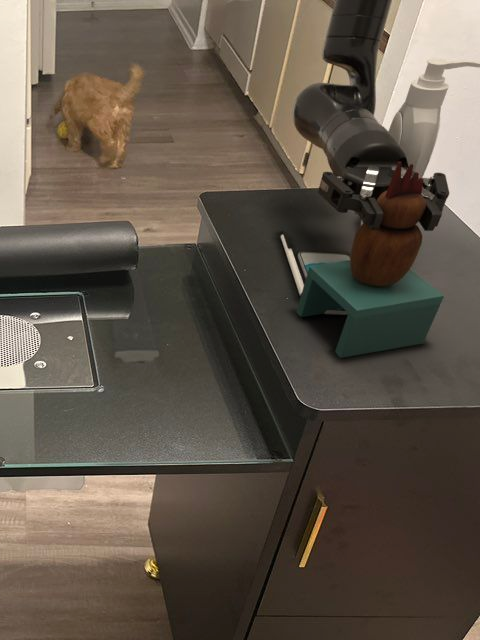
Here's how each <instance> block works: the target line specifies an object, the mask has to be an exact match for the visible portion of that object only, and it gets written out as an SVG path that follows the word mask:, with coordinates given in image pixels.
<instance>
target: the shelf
mask: <svg viewBox="0 0 480 640" xmlns="http://www.w3.org/2000/svg"><path fill="white" fill-rule="evenodd" d="M303 284H304V287H303V291H302V294H301V297H300V298H299V301H298V305H297V308H296V314H297V315H298V316H299V318H305V317H306V318H307V317H310V316H317V315H325V314H324V313H325V312H326V311H327V310H331V309H338V308H344V309H345V310H346V311H347V312H348V313H349V314H348V315H346V319H345V322H344V325H343V328H342V331H341V334H340V336H339V340H338V343H337V345H336V349H335V351H334V353H335V354H336V355H337V356H338V357H339V358H340V359H343V358H349V357H354V356H360V355H366V354H371V353H378V352H383V351H388V350H394V349H399V348H405V347H411V346H417V345H422V344H424V343H425V340H426V338H427V336H428V334H429V331H430V329H431V327H432V325H433V322H434V321H435V319H436V315H437V314H438V311H439V309H440V306H441V304H442V302H443V301H444V297H445V295H444V294H443V293H442V292H440V291H439V290H438V289H437V288H435V287H434V286H433V285H431V284H430V283H429V282H427V281H426V280H425V279H424V278H423V277H421V276H419V274H417V273H416V272H414V271H413V270H412V268H410V269H409V271H408V272H407V273H406V274H405V276H404V277H403V278H402V279H400V280H399V281H398V282H396V283H395V284H393V285H390V286H384V287H376V286H370V285H366V284H363V283H361V282H359V281H357V280H356V279H355V278H354V277H353V275H352V271H351V266H350V260H346V261H340V262H334V263H328V264H321V265H315V266H310V267H309V270H308V275H307V277H306V279H305V280H304V283H303Z"/></svg>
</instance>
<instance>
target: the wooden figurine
mask: <svg viewBox="0 0 480 640" xmlns="http://www.w3.org/2000/svg"><path fill="white" fill-rule="evenodd" d="M401 166H402V162H398V163H397V166H396V169H395V171H394V174H393V177H392V179H391V182H390V185H389V187H388V190H387V191H385V192H383V193H382V194H381V195H380V196H379V198H378V199H377V202H378V204H379V206H380V207H381V209H382V210H383V218H382V221H381V224H380V227H379V229H378V230H370V228H369V226H368V225H365V224H364V223H363V224H362V225H361V224H360V226H359V228H358V229H357V231H356V233H355V235H354V238H353V241H352V244H351V249H350V266H351V271H352V275H353V277H354V278H355V279H356V280H357V281H359V282H361V283H363V284H366V285H370V286H376V287H384V286H390V285H393V284H395V283H396V282H398V281H399V280H400V279H402V278H403V277H404V276H405V274H406V273H407V272H408V271H409V269H412V266H413V265H414V263H415V260H416V259H417V256H418V254H419V251H420V249H421V246H422V244H423V243H422V242H423V233H422V231H421V229H420V227H419V225H417V224H418V223H419V220H420V219H421V217H422V215H423V214H424V211H425V208H426V201H425V199H424V198H423V196H422V195H421V194H422V188H423V181H424V179H422V178H423V177H422V178H419V179H418V176H419V173H417V172H415V173H414V175H413V177H412V178H411V176H412V171H413V166H414V165H413V164H410V166H409V168H408V169H407V171H406V173H405V175H404V176H403V178H402V180H401Z"/></svg>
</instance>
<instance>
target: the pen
mask: <svg viewBox="0 0 480 640" xmlns="http://www.w3.org/2000/svg"><path fill="white" fill-rule="evenodd" d="M279 236H280V240H281V242H282V245H283V248H284V252H285V255H286V258H287V262H288V264H289V267H290V270H291V274H292V276H293V279H294V282H295V285H296V288H297V292H298V294H299V297H300V298H301V294H302V291H303V287H304V284H305V283H304V281H303V278H302V274H301V273H300V272H301V271H300V268H299V266H298V263H297V261H296V257H295V255H294V252H293V249H292V245H291V243H290V240H289V237H288V234H287V232H285V231H284V230H281V231H280V235H279Z"/></svg>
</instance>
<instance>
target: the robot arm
mask: <svg viewBox="0 0 480 640" xmlns="http://www.w3.org/2000/svg"><path fill="white" fill-rule="evenodd" d="M334 1H335V2H334V5H333V8H332V12H331V15H330V19H329V24H328V26H327V31H326V35H325V39H324V42H323V46H322V51H321V57H322V60H323V61H324V62H325V63H326V64H329V65H331V66H335V67H338V68H341V69H342V70H345V71H346V73H347V76H348V79H349V85H348V84H341V83H331V82H315V83H311V84H309V85H308V86H306V87H305V88H303V89H302V90H301V91H300V93H299V94H298V95H297V96H296V99H295V101H294V103H293V107H292V121H293V125H294V127H295V129H296V131H297V132H298V134H299V135H300V136H301V137H302V138H304V139H305V140H306V141H308V142H309V143H311V144H313V145H314V146H315V147H318V148H319V149H321V150H322V151H323V153H324V155H325V157H326V159H327V163H328V166H329V169H330V170H331V171H323V172H322V174H321V178H320V183H319V186H318V190H317V194H318V195H320V196H321V197H322V198H323V199H324V200H325V201H326V202H327V203H328V204H329V206H331V207H332V208H333V209H334V210H335V211H336V212H338V213H340V214H341V213H342V214H346V213H348V212H349V211H353V214H354V215H356V216H358V217H359V218H360V221H361V220H362V222H363V223H364V224H365V225H368V226H369V228H370V230H378V229H379V227H380V224H381V221H382V218H383V210H382V209H381V207H380V206H379V204H378V202H377V199H378V198H379V196H380V195H381V194H382V193H383V192H385V191H387V190H388V187H389V185H390V182H391V179H392V177H393V174H394V171H395V169H396V166H397V163H398V162H402V166H401V180H402V178H403V176H404V175H405V173H406V171H407V169H408V168H409V166H408V161H407V158H406V155H405V153H404V152H403V150H402V149H401V148H400V146H399V145H398V144H397V142H396V141H395V140H394V138H393V137H392V136H391V134H390V133H389V132H388V131H389V130H388V129H387V128H386V127H385V126H383V125H382V124H380V122H379V121H378V120H377V118H376V117H375V114H376V107H377V106H376V104H377V91H376V90H377V89H376V87H377V86H376V85H377V84H376V82H377V77H376V76H377V63H378V54H379V49H380V45H381V41H382V38H383V35H384V31H385V27H386V24H387V22H388V21H387V20H388V17H389V13H390V10H391V5H392V2H393V0H334ZM414 173H415V172H414V171H412V176H411V178H412V177H413V175H414ZM419 178H421V177H419V176H418V179H419ZM422 179H424V181H423V188H422V194H421V195H422V196H423V198H424V199H425V201H426V208H425V211H424V214H423V215H422V217H421V219H420V220H419V222H418V223H419V225H420V226H421V227H422V229H423V230H424V232H433V231H434V230H435V228H436V227H438V226H439V223H440V220H441V218H442V217H443V211H444V207H445V204H446V202H447V200H448V198H449V196H450V190H449V185H448V181H447V176H446V174H445V173H443V172H433V175H432V176H430V177H422Z"/></svg>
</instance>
